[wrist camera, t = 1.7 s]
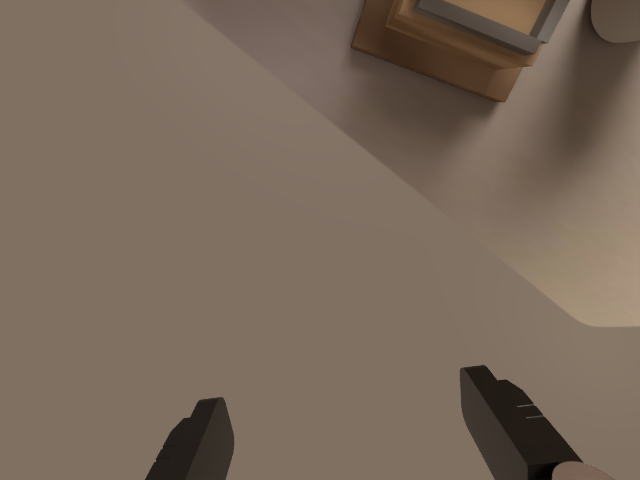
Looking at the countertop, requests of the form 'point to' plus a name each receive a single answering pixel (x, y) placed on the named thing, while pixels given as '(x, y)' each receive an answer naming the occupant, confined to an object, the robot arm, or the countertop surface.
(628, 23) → the beverage can
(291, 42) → the countertop surface
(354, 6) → the countertop surface
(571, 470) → the robot arm
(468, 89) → the plinth
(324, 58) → the countertop surface
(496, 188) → the countertop surface
